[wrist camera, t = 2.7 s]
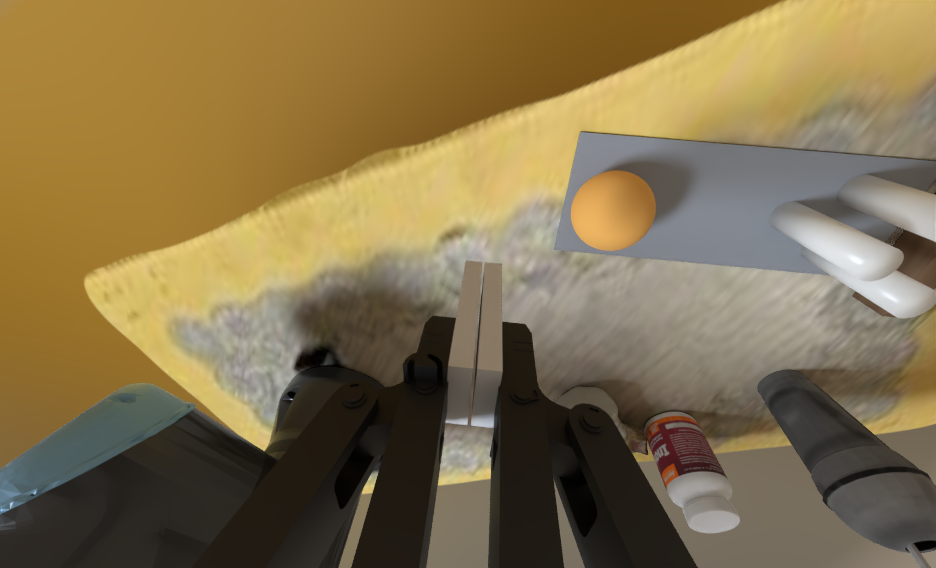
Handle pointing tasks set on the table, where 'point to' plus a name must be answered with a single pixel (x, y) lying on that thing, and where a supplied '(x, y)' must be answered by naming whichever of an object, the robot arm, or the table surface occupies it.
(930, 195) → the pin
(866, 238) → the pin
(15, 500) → the robot arm
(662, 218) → the lane mat
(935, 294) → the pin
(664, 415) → the pill bottle
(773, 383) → the beverage cup
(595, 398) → the ceramic sculpture
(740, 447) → the table surface
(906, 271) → the back wall
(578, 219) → the ball
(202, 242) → the table surface
